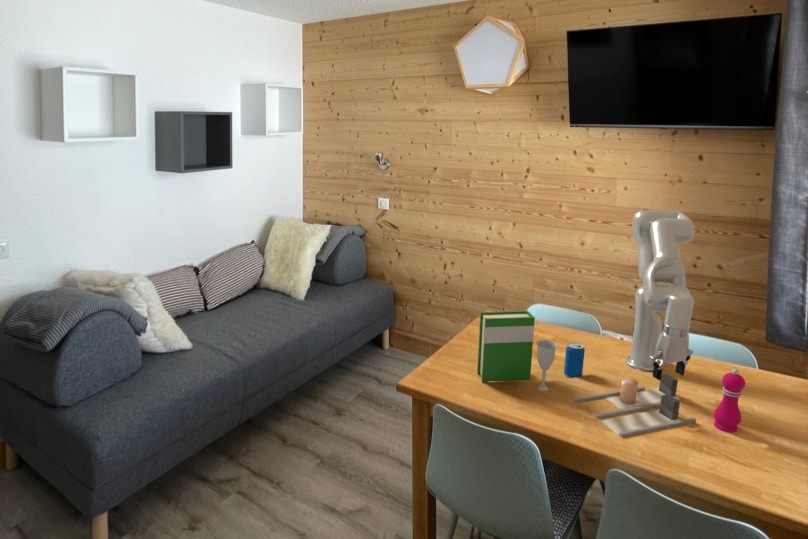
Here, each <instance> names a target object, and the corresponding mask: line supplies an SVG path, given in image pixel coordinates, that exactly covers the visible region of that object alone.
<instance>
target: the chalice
mask: <svg viewBox="0 0 808 539" xmlns="http://www.w3.org/2000/svg"><path fill="white" fill-rule="evenodd" d="M536 345H537V347H536V359H537V362H538V364H539V367H540V369H541V370H542V373H541V376H542V377H541V384H539V385H538V386H537V390H538V391H539V392H540V391H541V392H547V391H549V387H548V385H547V384H545V383H546V381H547V379H546V376H547V372H546V371H547V370H549V369H550V368H551V366H552V365H553V363H554V361H555V357H556V348H557V347H558V344H557V343H556V342H555V341H553V340H548V339H539V340H537V341H536Z"/></svg>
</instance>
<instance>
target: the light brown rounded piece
mask: <svg viewBox="0 0 808 539" xmlns="http://www.w3.org/2000/svg"><path fill="white" fill-rule="evenodd" d="M638 387H639V381H638V380H637V379H634V378H632V377H623V378H621V384H620V390H621V391H620V394H619V395H620V401H621V402H623V403H625V404H635V403H636V396H637V392H638V391H637V388H638Z"/></svg>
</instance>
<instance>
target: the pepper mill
mask: <svg viewBox="0 0 808 539" xmlns="http://www.w3.org/2000/svg"><path fill="white" fill-rule="evenodd" d="M721 384H722V385H723V387H722V390H721V392H722V393H723V396H722V400H721V401H720V403H719V404H718V405H717V407H716V408H715V409H714V413H713V417H714V420H713V421H714V422H713V426H714V427H715V429H717V430H718V431H721V432H724V433H731V434H732V433H736V432H738V429H739V427H738V425H739V424H741V422H742V414H741V410H740V407H739V398H740V397H742V393H743V391H742V390H744V388H745V387H746V380H745V378H744V377H743V375H741V374H740V371H739V369H737V368H733V369H732V370H731V372H728V373H725V374H724V375H723V376H722V379H721Z"/></svg>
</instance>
